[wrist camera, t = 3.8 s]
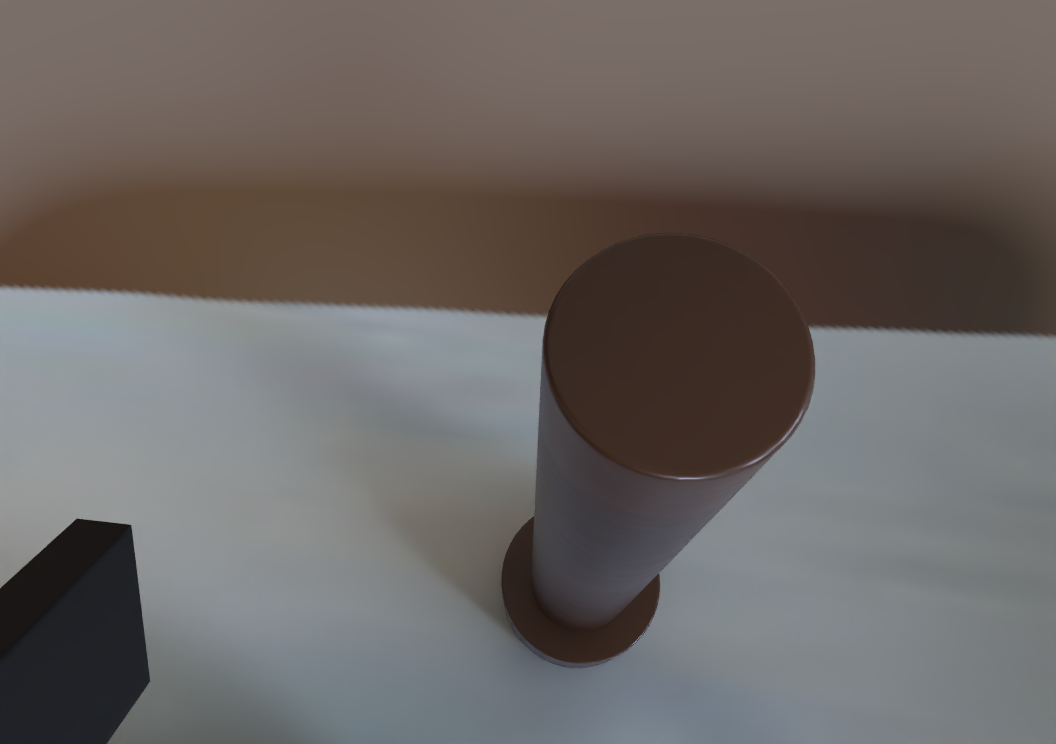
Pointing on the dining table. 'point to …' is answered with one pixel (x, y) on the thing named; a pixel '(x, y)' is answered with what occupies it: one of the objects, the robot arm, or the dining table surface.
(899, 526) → the dining table surface
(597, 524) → the pestle
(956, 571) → the dining table surface
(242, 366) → the dining table surface
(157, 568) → the dining table surface
